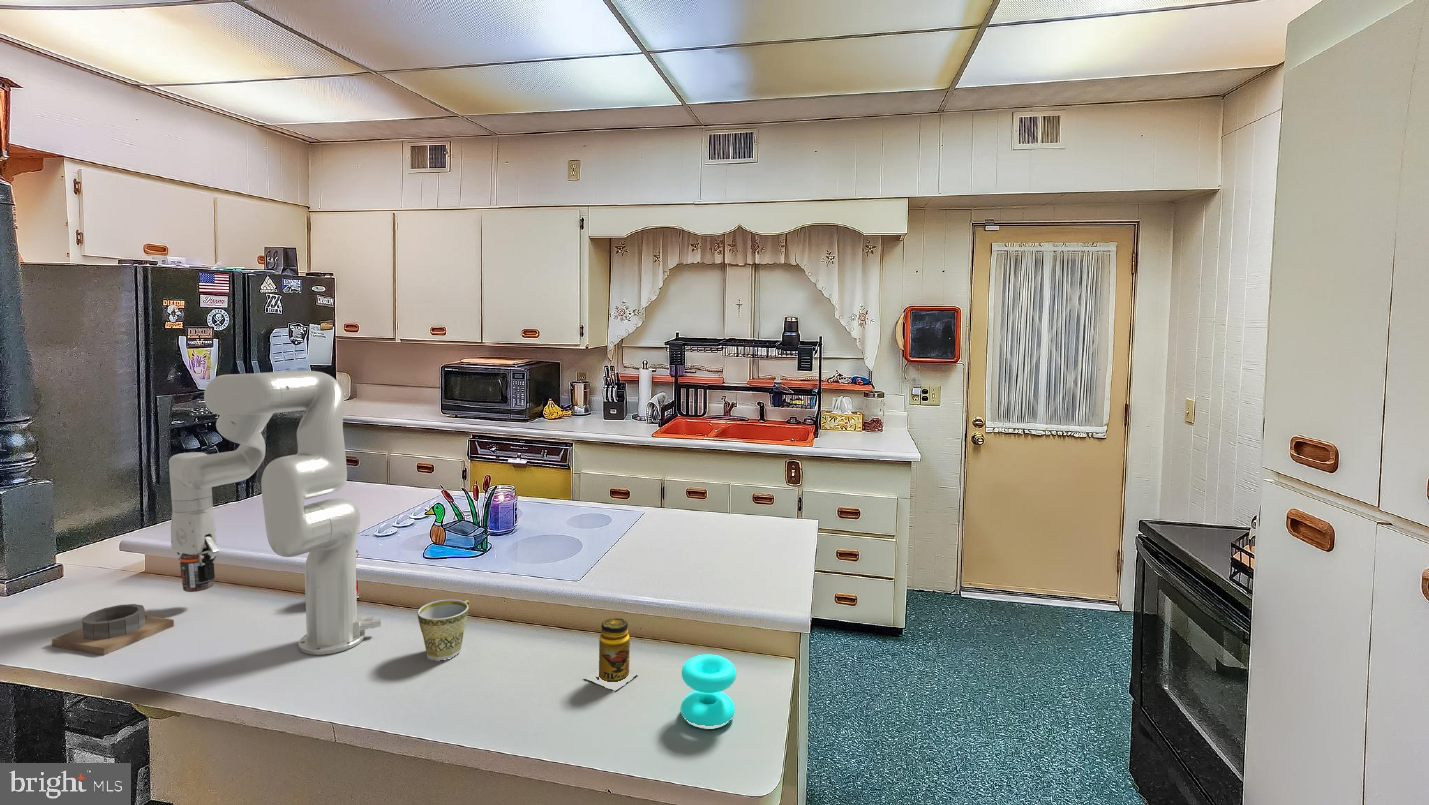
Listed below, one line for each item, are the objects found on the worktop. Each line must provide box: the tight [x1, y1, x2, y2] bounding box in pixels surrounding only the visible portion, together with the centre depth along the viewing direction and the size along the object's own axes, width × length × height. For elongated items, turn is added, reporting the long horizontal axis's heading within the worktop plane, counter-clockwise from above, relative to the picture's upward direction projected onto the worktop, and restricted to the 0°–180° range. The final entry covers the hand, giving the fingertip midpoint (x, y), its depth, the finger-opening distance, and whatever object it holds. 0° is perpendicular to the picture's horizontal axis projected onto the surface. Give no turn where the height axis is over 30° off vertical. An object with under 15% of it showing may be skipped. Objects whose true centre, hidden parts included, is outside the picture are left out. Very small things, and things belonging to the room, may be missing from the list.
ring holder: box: [51, 603, 175, 656], centre depth 141 cm, size 14×14×5 cm
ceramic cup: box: [417, 599, 471, 662], centre depth 139 cm, size 13×10×10 cm
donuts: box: [680, 654, 737, 726], centre depth 118 cm, size 10×10×10 cm
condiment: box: [598, 617, 631, 682], centre depth 131 cm, size 7×8×12 cm
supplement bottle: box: [180, 548, 215, 593], centre depth 155 cm, size 6×6×11 cm
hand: (198, 577), depth 156 cm, fingers closed on supplement bottle, 6 cm apart
